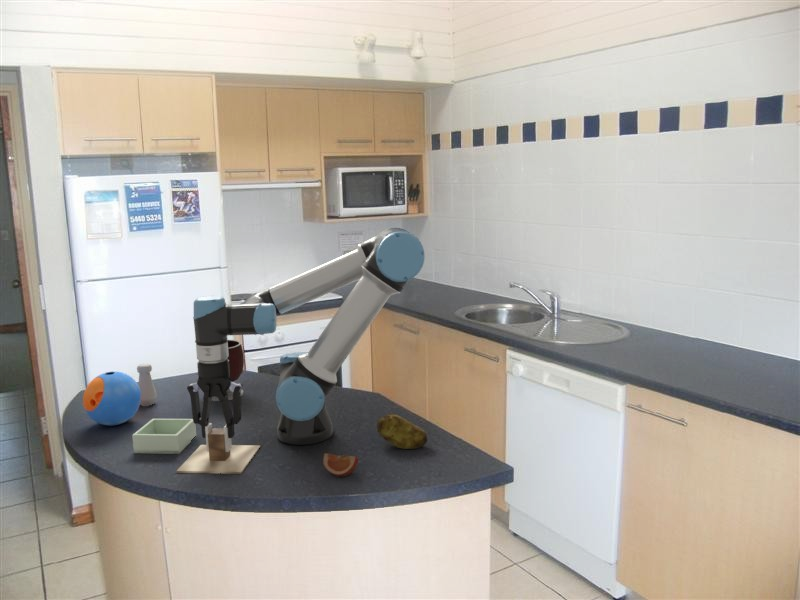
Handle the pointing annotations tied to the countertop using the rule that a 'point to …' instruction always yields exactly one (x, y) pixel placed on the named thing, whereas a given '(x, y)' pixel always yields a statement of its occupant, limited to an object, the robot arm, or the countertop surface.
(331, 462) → the fruit slice
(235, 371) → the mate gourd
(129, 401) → the treat dispenser ball
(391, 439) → the potato
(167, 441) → the dish
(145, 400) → the salt shaker
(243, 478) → the countertop surface
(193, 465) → the lid
